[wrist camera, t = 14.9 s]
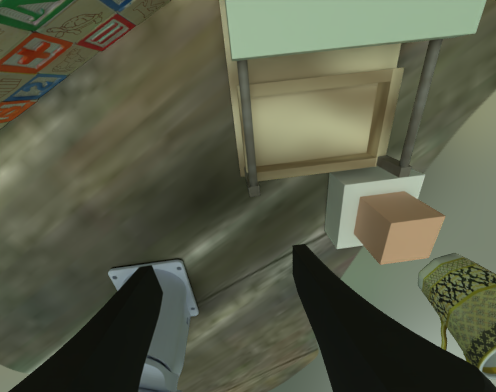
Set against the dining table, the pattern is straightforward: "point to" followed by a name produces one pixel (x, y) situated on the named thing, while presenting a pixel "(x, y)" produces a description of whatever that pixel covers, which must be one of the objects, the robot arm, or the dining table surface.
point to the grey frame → (320, 110)
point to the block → (397, 227)
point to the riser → (348, 195)
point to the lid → (342, 24)
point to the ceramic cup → (464, 307)
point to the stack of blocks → (56, 42)
